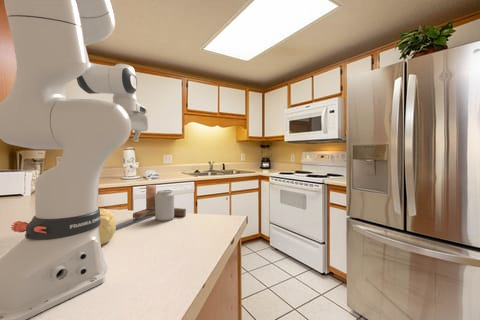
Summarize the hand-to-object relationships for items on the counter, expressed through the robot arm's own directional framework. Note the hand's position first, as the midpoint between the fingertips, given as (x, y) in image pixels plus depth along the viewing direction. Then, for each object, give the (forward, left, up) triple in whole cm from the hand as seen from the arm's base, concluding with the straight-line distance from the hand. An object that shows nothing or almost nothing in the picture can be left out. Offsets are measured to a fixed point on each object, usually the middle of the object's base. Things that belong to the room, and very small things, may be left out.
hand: (125, 141), depth 94 cm
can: (+6, -14, -33) cm, 36 cm away
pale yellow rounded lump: (-23, -10, -33) cm, 41 cm away
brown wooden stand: (+6, -12, -32) cm, 35 cm away
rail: (-1, -6, -32) cm, 33 cm away
